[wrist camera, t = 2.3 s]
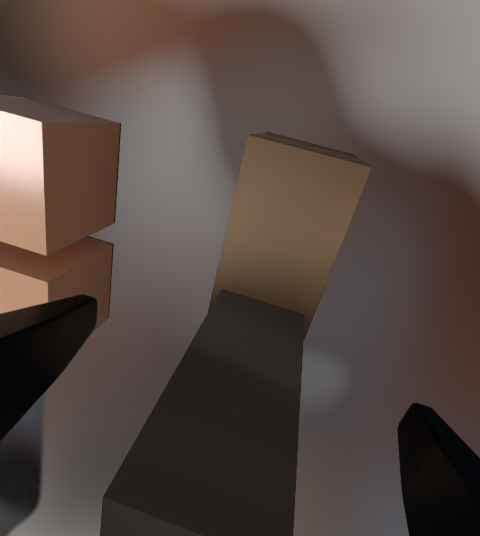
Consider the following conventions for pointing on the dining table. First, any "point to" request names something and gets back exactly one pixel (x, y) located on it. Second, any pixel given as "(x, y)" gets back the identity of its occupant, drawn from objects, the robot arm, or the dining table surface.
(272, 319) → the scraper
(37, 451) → the dining table surface
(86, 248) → the block
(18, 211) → the block
